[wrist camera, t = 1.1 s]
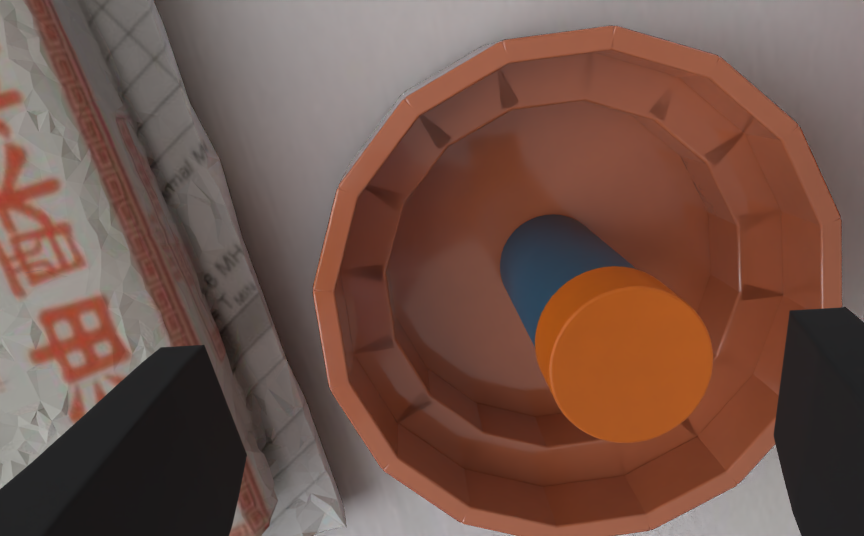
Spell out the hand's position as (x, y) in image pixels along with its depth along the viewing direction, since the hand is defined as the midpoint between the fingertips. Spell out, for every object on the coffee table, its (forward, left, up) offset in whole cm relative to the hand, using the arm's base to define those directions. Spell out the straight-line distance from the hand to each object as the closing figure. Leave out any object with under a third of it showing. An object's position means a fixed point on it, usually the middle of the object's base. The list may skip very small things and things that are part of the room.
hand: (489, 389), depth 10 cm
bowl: (-2, -3, -13) cm, 13 cm away
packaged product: (0, +10, -13) cm, 16 cm away
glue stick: (-2, -3, -12) cm, 12 cm away
